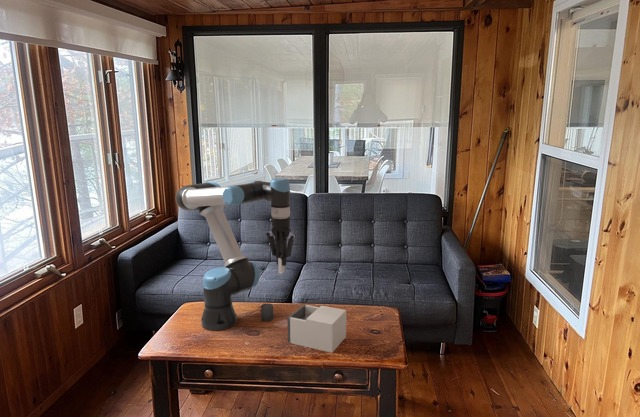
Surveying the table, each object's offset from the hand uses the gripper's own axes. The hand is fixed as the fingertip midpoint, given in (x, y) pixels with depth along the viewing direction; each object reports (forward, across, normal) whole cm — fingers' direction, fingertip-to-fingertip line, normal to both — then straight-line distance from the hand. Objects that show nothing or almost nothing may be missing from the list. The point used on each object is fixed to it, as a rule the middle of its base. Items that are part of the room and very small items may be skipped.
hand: (281, 272), depth 181 cm
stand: (+25, -11, +5) cm, 27 cm away
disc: (+19, +14, -3) cm, 24 cm away
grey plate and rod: (+24, +17, -3) cm, 29 cm away
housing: (+24, +18, -3) cm, 31 cm away
